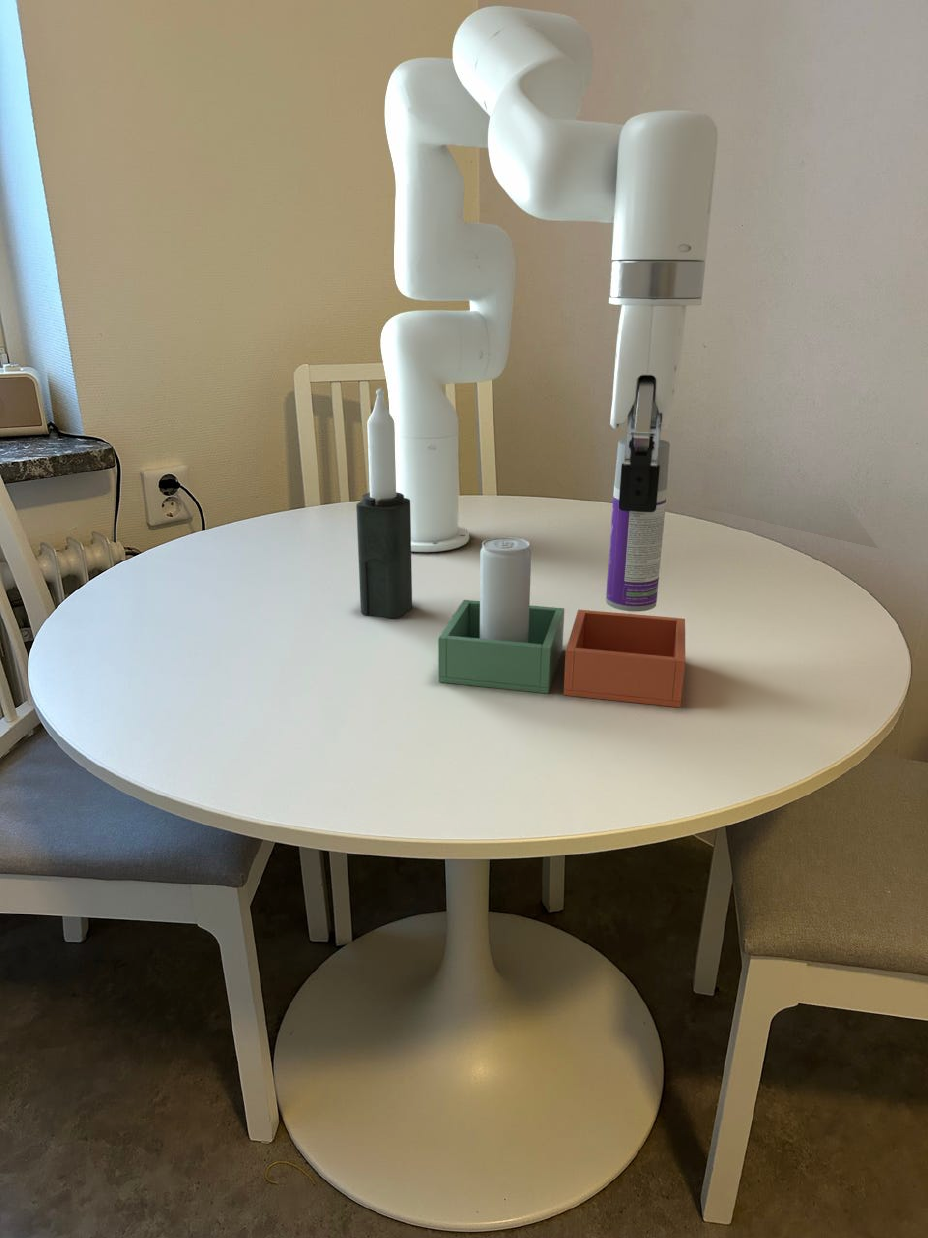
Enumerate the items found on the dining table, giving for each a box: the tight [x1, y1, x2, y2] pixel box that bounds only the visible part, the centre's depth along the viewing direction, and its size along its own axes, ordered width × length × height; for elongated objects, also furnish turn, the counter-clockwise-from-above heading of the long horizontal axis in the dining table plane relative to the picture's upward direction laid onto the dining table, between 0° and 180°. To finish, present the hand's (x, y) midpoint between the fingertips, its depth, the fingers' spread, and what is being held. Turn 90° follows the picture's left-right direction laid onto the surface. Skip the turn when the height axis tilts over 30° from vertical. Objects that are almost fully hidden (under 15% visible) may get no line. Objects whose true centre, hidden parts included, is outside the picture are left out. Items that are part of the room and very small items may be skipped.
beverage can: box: [479, 536, 532, 643], centre depth 85 cm, size 5×5×12 cm
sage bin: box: [437, 599, 565, 694], centre depth 86 cm, size 11×11×5 cm
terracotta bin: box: [563, 609, 686, 708], centre depth 84 cm, size 11×11×5 cm
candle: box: [355, 387, 413, 619], centre depth 97 cm, size 5×5×25 cm
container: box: [605, 438, 671, 613], centre depth 79 cm, size 5×5×15 cm
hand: (638, 500), depth 78 cm, fingers closed on container, 4 cm apart
